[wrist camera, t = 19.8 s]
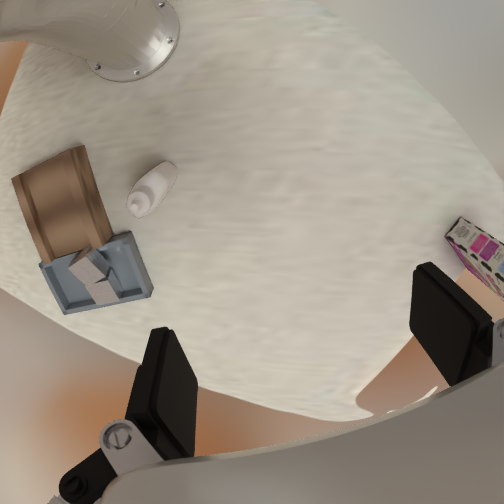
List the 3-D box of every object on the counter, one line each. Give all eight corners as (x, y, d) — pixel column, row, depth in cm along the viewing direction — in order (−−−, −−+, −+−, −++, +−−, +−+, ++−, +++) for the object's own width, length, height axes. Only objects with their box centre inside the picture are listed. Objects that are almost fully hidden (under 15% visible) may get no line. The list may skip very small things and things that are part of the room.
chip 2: (97, 305, 41) (101, 294, 43) (120, 301, 41) (123, 289, 43) (84, 285, 39) (89, 274, 41) (107, 280, 39) (111, 268, 41)
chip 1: (73, 256, 38) (67, 268, 36) (90, 244, 37) (85, 256, 35) (92, 274, 41) (87, 287, 39) (110, 264, 40) (105, 276, 38)
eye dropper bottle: (134, 173, 37) (100, 197, 26) (173, 157, 37) (152, 174, 26) (146, 203, 39) (118, 238, 28) (185, 189, 39) (170, 218, 28)
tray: (45, 257, 41) (38, 264, 38) (131, 230, 40) (126, 237, 38) (69, 306, 44) (64, 315, 42) (153, 288, 44) (150, 297, 42)
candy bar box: (442, 237, 45) (506, 285, 30) (460, 215, 43) (527, 256, 29) (466, 271, 48) (520, 319, 33) (482, 252, 47) (538, 295, 32)
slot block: (28, 171, 35) (11, 178, 31) (84, 145, 35) (69, 149, 31) (57, 251, 40) (43, 264, 36) (113, 234, 40) (102, 246, 36)
